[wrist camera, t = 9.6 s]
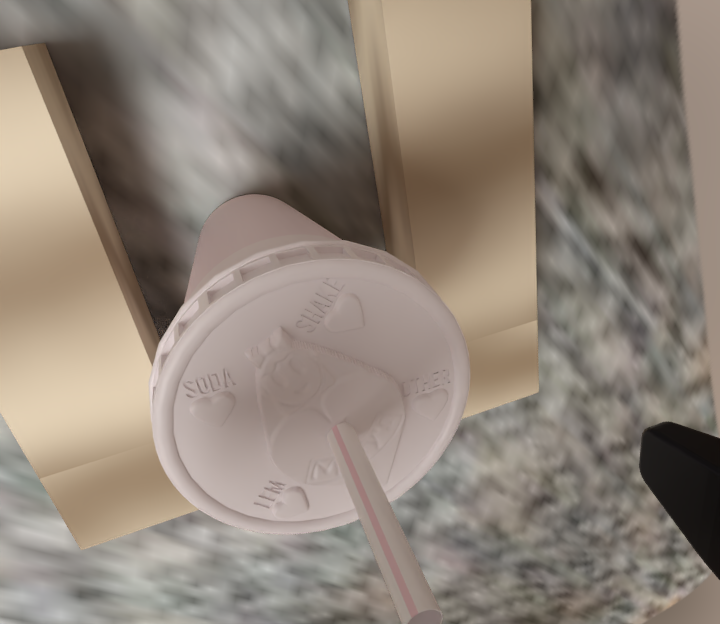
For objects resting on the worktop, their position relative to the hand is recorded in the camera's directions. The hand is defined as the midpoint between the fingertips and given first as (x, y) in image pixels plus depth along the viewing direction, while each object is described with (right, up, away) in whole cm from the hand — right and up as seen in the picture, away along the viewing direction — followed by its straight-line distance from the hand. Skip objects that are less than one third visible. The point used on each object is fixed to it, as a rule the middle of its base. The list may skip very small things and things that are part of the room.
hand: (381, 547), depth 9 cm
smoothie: (-4, +6, +11) cm, 13 cm away
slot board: (-4, +6, +11) cm, 13 cm away
